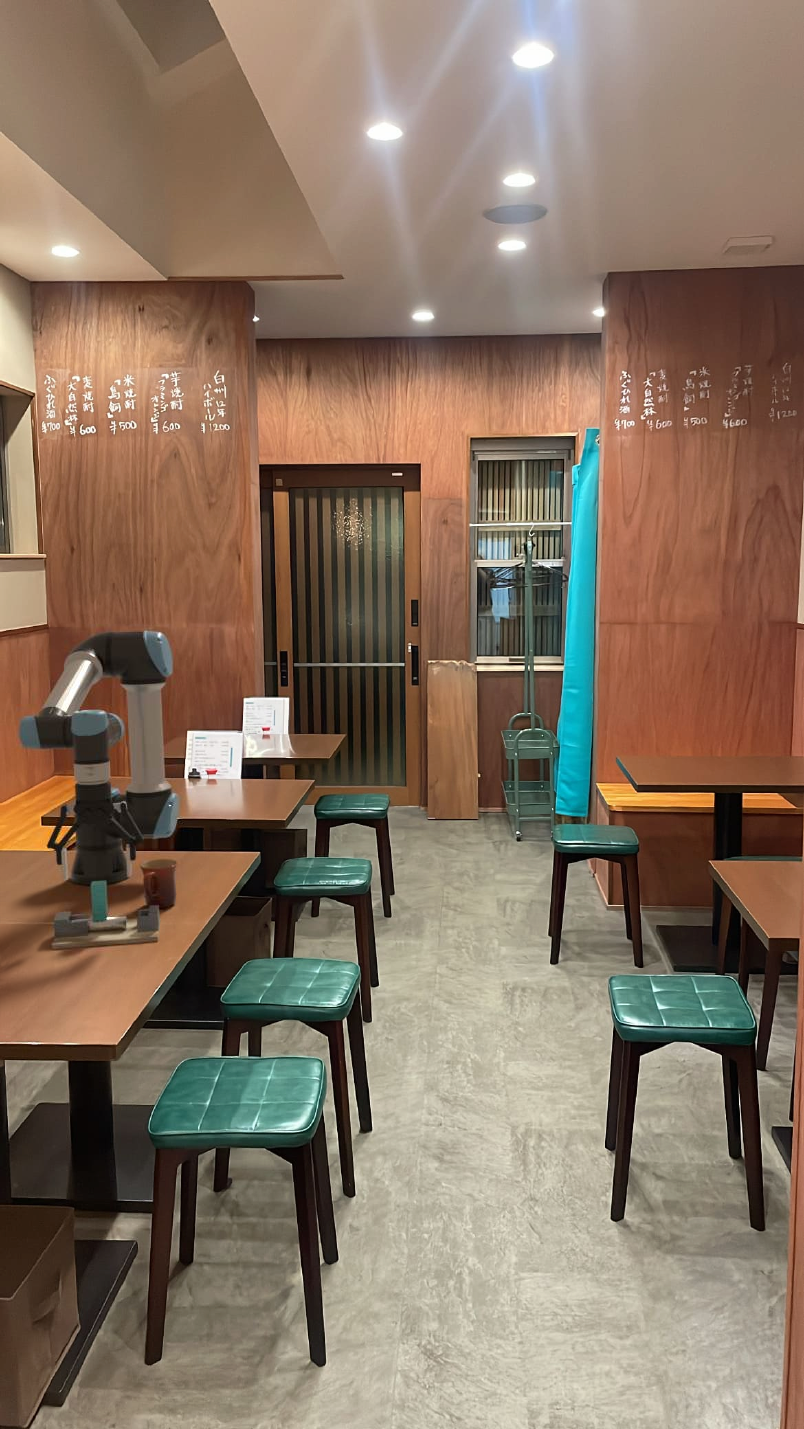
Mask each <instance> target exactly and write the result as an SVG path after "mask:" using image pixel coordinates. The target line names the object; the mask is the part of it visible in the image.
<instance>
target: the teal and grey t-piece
mask: <svg viewBox="0 0 804 1429" xmlns="http://www.w3.org/2000/svg"><path fill="white" fill-rule="evenodd" d="M90 894H91V895H90V896H91V912H92V917H90V919H76V920H69V922H70V921H84V920H88V932H89V931H102V930H116V929H127V919H128V918H127V915H122V916H109V909H108V908H109V907H108V906H109V905H108V890H107V884H106V881H92V883H91V885H90Z"/></svg>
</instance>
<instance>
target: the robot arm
mask: <svg viewBox="0 0 804 1429" xmlns="http://www.w3.org/2000/svg"><path fill="white" fill-rule="evenodd" d="M173 661H174V660H173V655H172V649H171V647H170V643H169V640H168V639H167V637H166V636H165V634H163V632H160V631H152V630H151V631H150V630H141V631H104V632H100V633H97V634H94V635H92V636H90V637H88V638H86V639H85V640H83V641H82V642H80V643H79V644H77V645H76V646H75V647H74V648H72V650H71V651H70V652H69V654H68V655H67V656H66V658H65V661H64V663H63V671H62V673H61V675H60V677H59V679H58V680H57V682H56V684H55V685H54V687H53V689H52V691H51V692H50V694H49V696H48V698H46V700H45V703H44V704H43V706H42V707H41V709H40V711H39V713H38V714H37V715H34V714H33V715H28V716H27V715H26V716H23V717H22V718H21V719H20V721H19V725H18V726H19V727H18V737H19V738H18V739H19V742H20V744H21V746H22V747H23V748H25V749H28V750H39V751H42V750H58V749H59V750H60V749H61V750H63V749H67V750H68V749H70V750H71V749H72V752H73V756H72V757H73V773H74V774H73V776H74V778H73V779H74V781H75V782H76V783H75V784H74V795H75V799H74V801H73V802H74V803H73V805H71V804H69V805H68V804H66V803H63V804H62V806H61V807H60V813H59V815H60V816H59V818H58V820H57V823H56V824H55V827H54V829H53V831H52V833H51V836H50V838H49V840H48V842H47V844H46V847H47V849H49V850H54V851H55V854H56V856H55V857H56V864H57V865H58V866H60V865H61V869H62V874H61V875H62V881H64V882H65V881H67V880H68V878H69V872H68V870H69V869H68V852H67V848H64V847H65V846H66V844H67V843H68V842H69V840H70V839H71V838H72V837H73V835H75V848H76V851H75V856H74V859H73V863H72V866H71V870H70V880H71V882H72V883H74V884H76V885H83V886H91V883H92V881H106V885H107V884H114V883H118V882H121V881H125V880H127V879H128V878H130V877H132V873H133V872H132V871H133V870H132V862H133V861H136V858H137V848H136V846H137V845H139V844H143V842H144V839H153V840H156V839H161V838H169V837H171V836H172V835H173V833H174V831H176V826H177V822H178V818H179V812H180V811H179V810H180V799H179V795H178V794H177V793H175V792H172V785H171V784H170V783H169V782H168V781H166V776H165V775H166V774H165V753H164V752H165V750H164V749H165V748H164V732H163V731H164V730H163V706H162V705H163V704H162V691H161V690H162V689H163V688H164V687H165V685H166V684H167V678H169V677H171V676H172V674H173V671H174V670H173V665H174V664H173V663H174V662H173ZM103 678H119V680H120V681H119V683H120V686H121V687H122V688H123V689H124V690H125V691H126V704H127V722H128V723H127V724H128V738H129V739H128V740H129V759H130V761H129V762H130V763H129V764H130V778H131V779H130V781H131V782H130V783H129V784H128V785H127V786H126V787H125V793H124V794H123V793H121V791H120V789H119V788H118V787H112V784H111V782H110V781H109V780H110V779H111V762H110V748H112V747H113V746H115V745H117V744H118V743H119V742H120V741H121V740H122V738H123V737H124V734H125V724H124V722H123V720H122V719H121V718H120V716H118V715H117V714H114V713H110V712H106V711H104V710H102V709H86V710H84V709H82V710H80V708H81V706H82V705H83V703H84V701H85V699H86V698H87V696H88V694H89V692H90V690H91V689H92V686H93V685H95V684H98V682H99V681H100V680H101V679H103ZM72 812H73V817H74V818H73V819H74V823H73V824H72V826H71V827H70V828H69V829H68V831H67V832H66V833H65V835H64V836H63V837H62V838H61V839H60V841H58V842H56V841H57V838H58V837H59V834H60V832H61V830H62V828H63V825H64V823H65V821H66V820H67V817H69V816H70V815H71V814H72ZM122 840H123V841H124V842H125V843H127V844H126V847H125V850H124V848H123V841H122ZM125 851H126V852H125ZM125 853H126V854H125Z"/></svg>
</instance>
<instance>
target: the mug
mask: <svg viewBox="0 0 804 1429" xmlns="http://www.w3.org/2000/svg"><path fill="white" fill-rule="evenodd" d="M178 863H179V862H178V861H177V860H175V859H169V858H159V859H158V858H157V859H151V860H146V861H143V862H141V864H140V870H141V872H142V875H143V881H142V882H143V890H144V891H143V892H144V896H143V897H144V900H145V905H146V906H147V907H149V906H151V905H159V910H160V909H166V908H169V907H172V906H173V905H175V903H176V900H177V886H176V885H177V883H176V871H177V868H178Z"/></svg>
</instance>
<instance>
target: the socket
mask: <svg viewBox="0 0 804 1429" xmlns="http://www.w3.org/2000/svg"><path fill="white" fill-rule="evenodd" d="M137 914H138V915H137V916H136V919H137V932H150V931H158V930H159V931H160V929H159V923H160V924H161V920H160V921H159V917H160V909H159V905H151V906H148V908H147V909H146V908H145V909H138V911H137Z"/></svg>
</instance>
